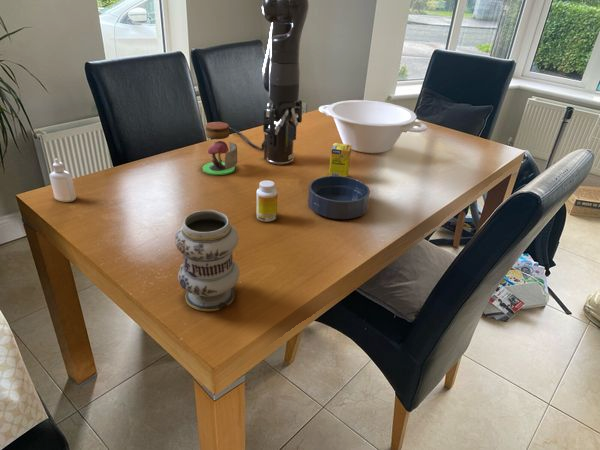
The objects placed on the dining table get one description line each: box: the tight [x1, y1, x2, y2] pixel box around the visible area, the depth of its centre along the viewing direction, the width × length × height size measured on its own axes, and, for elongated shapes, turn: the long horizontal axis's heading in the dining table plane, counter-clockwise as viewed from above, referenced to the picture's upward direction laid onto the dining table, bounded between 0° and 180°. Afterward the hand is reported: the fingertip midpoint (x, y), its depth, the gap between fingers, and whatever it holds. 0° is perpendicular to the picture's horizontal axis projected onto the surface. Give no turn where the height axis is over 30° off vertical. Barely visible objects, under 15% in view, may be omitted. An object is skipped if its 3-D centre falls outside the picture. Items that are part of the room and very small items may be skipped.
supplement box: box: [328, 142, 352, 177], centre depth 145 cm, size 6×6×11 cm
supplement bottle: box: [255, 180, 278, 223], centre depth 120 cm, size 6×6×10 cm
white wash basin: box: [318, 99, 428, 154], centre depth 173 cm, size 44×34×14 cm
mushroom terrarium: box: [202, 121, 238, 176], centre depth 145 cm, size 12×13×15 cm
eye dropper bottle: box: [49, 158, 77, 203], centre depth 123 cm, size 4×6×12 cm
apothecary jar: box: [174, 209, 241, 312], centre depth 88 cm, size 12×12×18 cm
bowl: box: [307, 175, 371, 220], centre depth 129 cm, size 17×17×6 cm
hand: (282, 143), depth 119 cm, fingers open, 8 cm apart
